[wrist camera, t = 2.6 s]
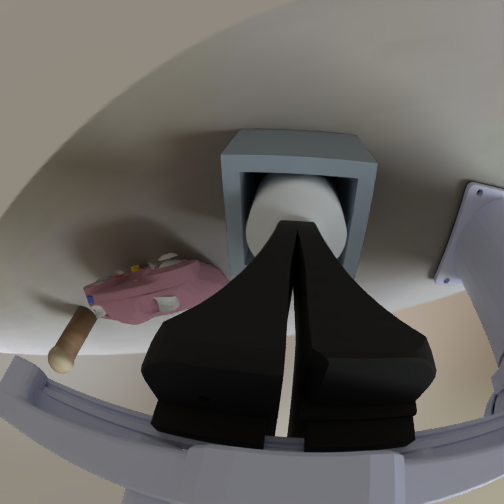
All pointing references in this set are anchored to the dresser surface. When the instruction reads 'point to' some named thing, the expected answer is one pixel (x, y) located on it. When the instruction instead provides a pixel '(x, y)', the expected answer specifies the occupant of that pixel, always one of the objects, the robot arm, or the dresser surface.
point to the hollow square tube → (296, 162)
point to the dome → (296, 208)
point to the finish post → (71, 340)
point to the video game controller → (154, 290)
